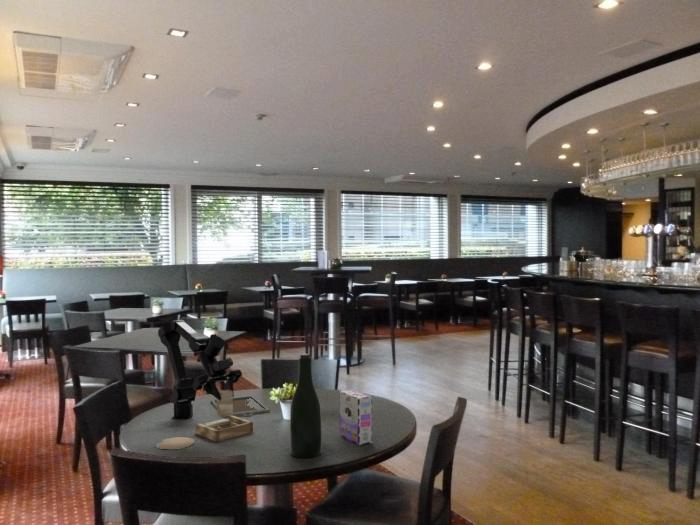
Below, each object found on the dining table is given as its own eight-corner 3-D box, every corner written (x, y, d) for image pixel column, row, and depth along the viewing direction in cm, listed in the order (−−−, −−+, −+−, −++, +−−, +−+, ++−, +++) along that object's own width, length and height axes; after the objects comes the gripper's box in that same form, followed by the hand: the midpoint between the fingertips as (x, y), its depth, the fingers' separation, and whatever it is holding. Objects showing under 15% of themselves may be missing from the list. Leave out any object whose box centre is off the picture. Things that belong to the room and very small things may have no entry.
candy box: (372, 443, 200) (372, 396, 200) (358, 446, 197) (358, 398, 197) (353, 432, 212) (352, 388, 212) (339, 435, 209) (338, 390, 209)
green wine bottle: (293, 460, 184) (292, 357, 184) (287, 449, 194) (286, 352, 194) (325, 456, 187) (324, 355, 187) (317, 446, 197) (317, 350, 197)
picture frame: (252, 395, 266) (271, 410, 239) (252, 398, 266) (271, 414, 239) (210, 399, 258) (225, 416, 231) (210, 403, 258) (225, 420, 231)
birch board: (216, 415, 212) (216, 391, 212) (228, 413, 216) (228, 389, 216) (221, 417, 210) (221, 393, 210) (232, 414, 214) (232, 390, 214)
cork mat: (148, 449, 195) (148, 448, 195) (165, 437, 208) (165, 436, 208) (185, 450, 194) (185, 449, 194) (199, 438, 207) (199, 437, 207)
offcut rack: (195, 433, 213) (195, 423, 213) (231, 424, 224) (231, 415, 224) (216, 441, 203) (216, 431, 203) (252, 431, 214) (252, 422, 214)
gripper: (196, 354, 209) (213, 390, 201) (239, 348, 222) (256, 381, 215) (185, 372, 214) (201, 407, 207) (227, 365, 228) (244, 398, 220)
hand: (226, 398), depth 212 cm, fingers closed on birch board, 5 cm apart
